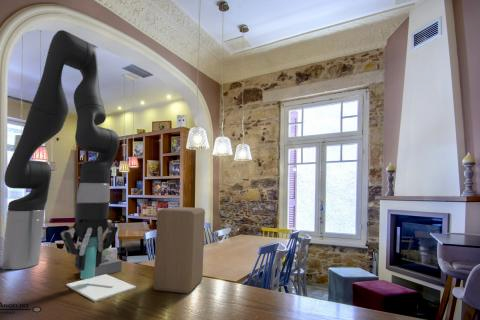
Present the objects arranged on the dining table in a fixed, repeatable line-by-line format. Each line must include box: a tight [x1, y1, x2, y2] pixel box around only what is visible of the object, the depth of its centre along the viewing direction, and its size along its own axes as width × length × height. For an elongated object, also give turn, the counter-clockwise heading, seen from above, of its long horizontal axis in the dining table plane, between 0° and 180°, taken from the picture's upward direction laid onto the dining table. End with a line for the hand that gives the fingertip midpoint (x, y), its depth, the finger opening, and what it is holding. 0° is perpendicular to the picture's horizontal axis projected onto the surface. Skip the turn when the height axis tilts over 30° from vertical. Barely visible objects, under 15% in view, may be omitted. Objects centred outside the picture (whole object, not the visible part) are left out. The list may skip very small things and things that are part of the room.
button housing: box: [95, 255, 123, 277], centre depth 77 cm, size 8×8×3 cm
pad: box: [66, 274, 137, 302], centre depth 65 cm, size 15×10×1 cm, turn 55°
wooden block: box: [152, 206, 206, 294], centre depth 68 cm, size 10×10×20 cm
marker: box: [80, 237, 98, 280], centre depth 66 cm, size 3×3×10 cm
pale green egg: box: [101, 244, 112, 263], centre depth 77 cm, size 4×4×6 cm
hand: (88, 268), depth 66 cm, fingers closed on marker, 3 cm apart
